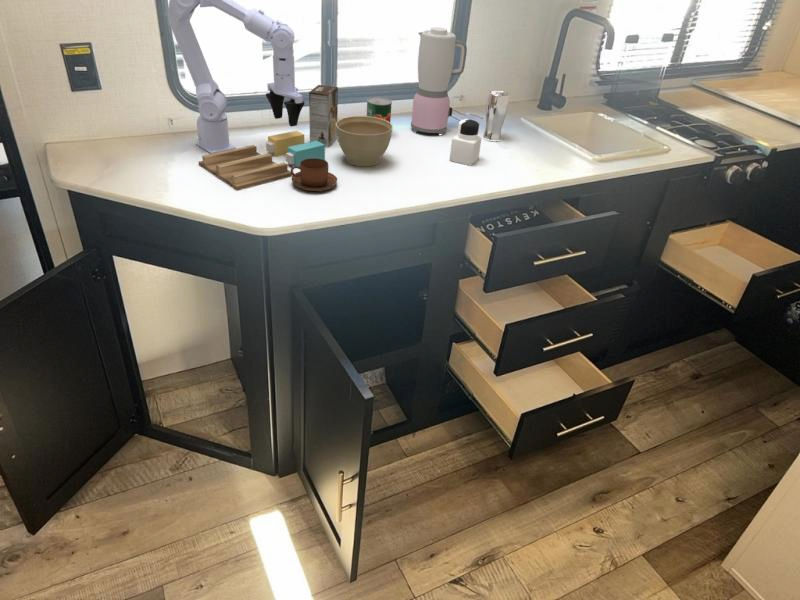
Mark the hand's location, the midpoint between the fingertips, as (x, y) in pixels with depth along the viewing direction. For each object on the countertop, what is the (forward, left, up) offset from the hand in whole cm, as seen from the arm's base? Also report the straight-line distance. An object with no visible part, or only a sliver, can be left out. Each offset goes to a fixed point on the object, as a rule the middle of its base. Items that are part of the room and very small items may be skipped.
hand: (285, 121), depth 174 cm
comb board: (+6, -18, -9) cm, 20 cm away
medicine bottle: (+34, +41, -9) cm, 54 cm away
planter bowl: (+18, +14, -9) cm, 25 cm away
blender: (+10, +52, -9) cm, 54 cm away
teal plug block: (+10, 0, -9) cm, 14 cm away
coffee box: (-1, +14, -9) cm, 17 cm away
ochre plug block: (0, 0, -9) cm, 9 cm away
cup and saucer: (+24, -8, -9) cm, 27 cm away
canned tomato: (+3, +33, -9) cm, 35 cm away
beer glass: (+26, +64, -9) cm, 70 cm away
